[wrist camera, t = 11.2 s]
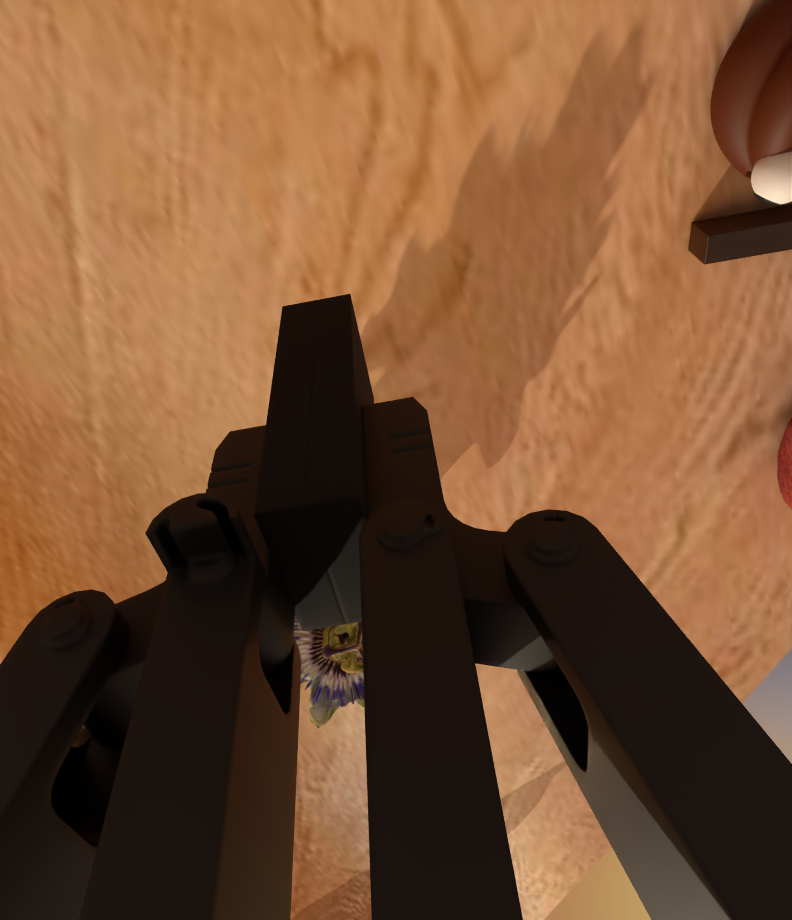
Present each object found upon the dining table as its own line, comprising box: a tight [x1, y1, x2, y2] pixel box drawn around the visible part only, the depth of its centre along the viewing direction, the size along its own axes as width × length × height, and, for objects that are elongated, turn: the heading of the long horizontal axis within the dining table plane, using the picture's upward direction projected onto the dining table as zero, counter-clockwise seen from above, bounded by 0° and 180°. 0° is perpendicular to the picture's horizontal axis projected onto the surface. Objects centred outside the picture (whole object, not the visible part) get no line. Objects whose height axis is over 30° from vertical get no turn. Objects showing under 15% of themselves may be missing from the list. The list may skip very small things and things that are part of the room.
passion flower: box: [294, 614, 365, 728], centre depth 47 cm, size 11×11×12 cm
